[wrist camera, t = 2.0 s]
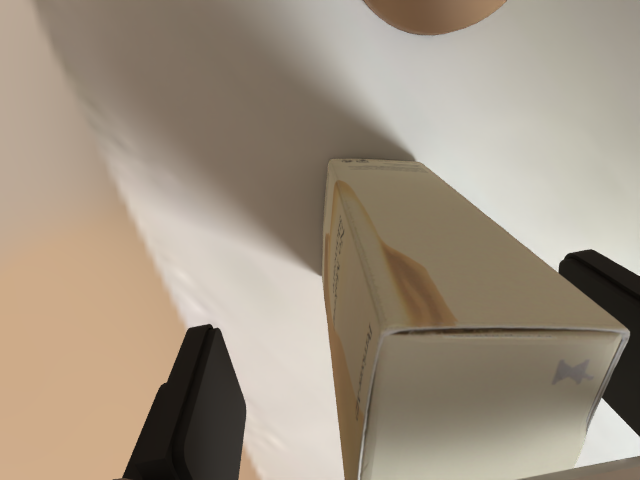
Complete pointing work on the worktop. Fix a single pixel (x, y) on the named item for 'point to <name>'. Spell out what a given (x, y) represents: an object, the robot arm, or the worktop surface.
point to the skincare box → (451, 335)
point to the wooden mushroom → (433, 14)
